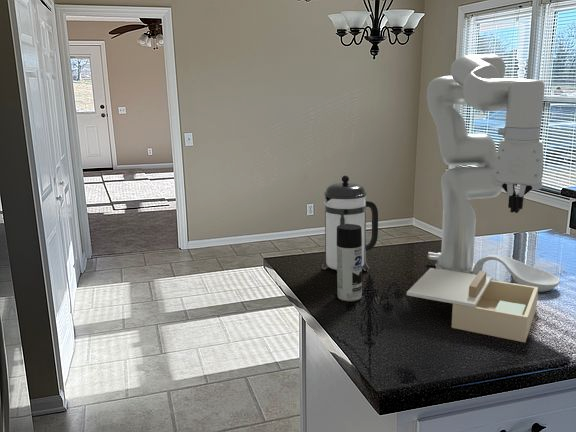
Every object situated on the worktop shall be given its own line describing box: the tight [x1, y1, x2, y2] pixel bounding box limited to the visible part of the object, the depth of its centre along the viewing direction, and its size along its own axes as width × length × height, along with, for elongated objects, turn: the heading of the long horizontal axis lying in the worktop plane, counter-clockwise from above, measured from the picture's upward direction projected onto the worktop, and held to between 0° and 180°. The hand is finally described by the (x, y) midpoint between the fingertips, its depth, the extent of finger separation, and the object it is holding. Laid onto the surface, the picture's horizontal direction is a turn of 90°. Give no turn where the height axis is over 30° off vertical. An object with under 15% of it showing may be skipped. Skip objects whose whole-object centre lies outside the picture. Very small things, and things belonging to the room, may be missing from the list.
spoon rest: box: [472, 253, 561, 293], centre depth 150 cm, size 24×12×7 cm, turn 44°
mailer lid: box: [406, 267, 493, 307], centre depth 132 cm, size 16×20×3 cm
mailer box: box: [451, 280, 539, 343], centre depth 127 cm, size 16×20×6 cm
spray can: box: [336, 224, 363, 302], centre depth 141 cm, size 7×7×20 cm
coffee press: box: [321, 175, 379, 273], centre depth 162 cm, size 17×16×30 cm
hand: (515, 211), depth 126 cm, fingers closed
